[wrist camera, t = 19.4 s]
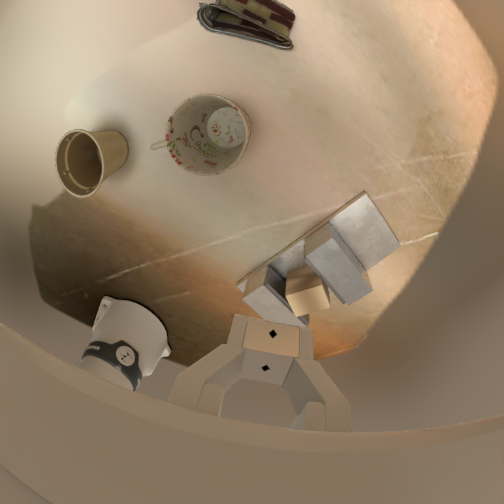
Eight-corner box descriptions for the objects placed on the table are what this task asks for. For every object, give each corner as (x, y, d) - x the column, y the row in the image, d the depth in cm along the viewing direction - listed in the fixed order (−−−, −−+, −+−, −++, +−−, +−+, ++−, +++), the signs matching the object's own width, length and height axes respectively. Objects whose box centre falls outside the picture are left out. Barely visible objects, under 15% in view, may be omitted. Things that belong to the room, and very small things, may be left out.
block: (296, 290, 43) (295, 317, 38) (287, 270, 41) (285, 295, 36) (327, 281, 41) (330, 307, 36) (319, 260, 40) (321, 284, 34)
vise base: (277, 319, 48) (274, 345, 43) (237, 282, 45) (229, 306, 40) (398, 242, 37) (411, 264, 32) (364, 190, 35) (375, 206, 29)
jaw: (341, 287, 41) (345, 307, 37) (301, 241, 38) (301, 258, 34) (366, 271, 39) (372, 290, 35) (328, 222, 36) (332, 237, 32)
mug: (266, 150, 34) (256, 166, 26) (179, 171, 37) (145, 193, 29) (252, 89, 31) (235, 83, 22) (163, 116, 34) (123, 123, 25)
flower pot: (148, 162, 37) (115, 178, 30) (106, 188, 40) (73, 208, 33) (122, 109, 33) (84, 115, 26) (83, 140, 36) (46, 153, 29)
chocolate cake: (317, 11, 23) (246, -46, 15) (299, 50, 25) (217, -7, 17) (268, 20, 30) (203, -20, 21) (250, 55, 32) (178, 16, 23)
